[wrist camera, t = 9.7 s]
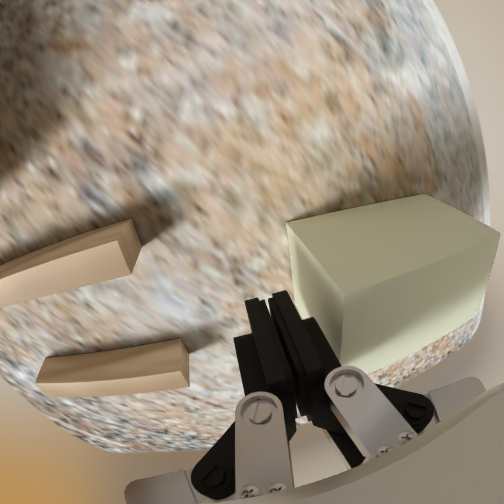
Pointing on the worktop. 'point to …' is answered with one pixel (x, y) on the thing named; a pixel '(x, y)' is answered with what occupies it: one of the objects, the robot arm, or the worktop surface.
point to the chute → (82, 274)
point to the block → (389, 276)
